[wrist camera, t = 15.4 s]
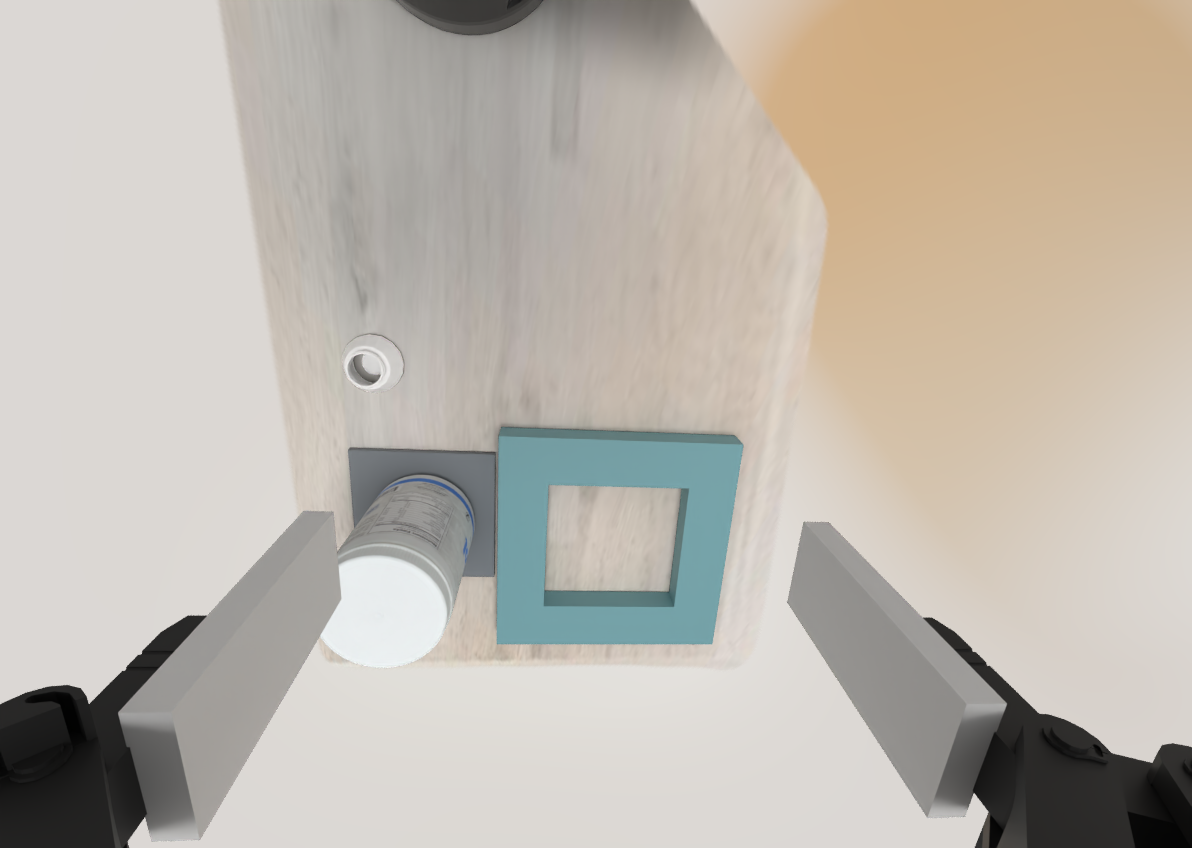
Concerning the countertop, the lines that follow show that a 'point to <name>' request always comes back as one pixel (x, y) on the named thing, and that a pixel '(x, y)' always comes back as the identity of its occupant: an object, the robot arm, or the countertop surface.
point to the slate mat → (456, 467)
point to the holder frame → (616, 462)
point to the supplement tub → (401, 573)
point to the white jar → (373, 362)
